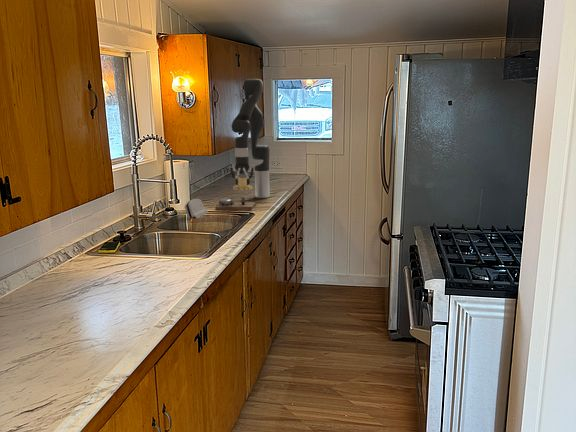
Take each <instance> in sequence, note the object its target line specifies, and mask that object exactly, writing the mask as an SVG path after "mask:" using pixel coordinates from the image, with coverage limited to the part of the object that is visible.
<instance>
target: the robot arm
mask: <svg viewBox="0 0 576 432" xmlns="http://www.w3.org/2000/svg"><path fill="white" fill-rule="evenodd" d="M243 92H244V99H245V101H244V102H243V104H241V107H240V109H239V112H238V114H237V115H236V116H235V118H234V119H233V121H232V122H231V131H232V132H234V133H235V134H236V133H237V134H238V133H239V134H242V135H241V136H237V137H236V138H235V141H234V142H235V143H234V144H235V145H234V146H235V153H234V156H235V157H234V158H235V166H231V167H230V168H229V169H230V174H231V178H233V179H235V185H237V186H238V177H240V174H244V175H245V177H247V185H250V181H251V179H252V178H253V176H254V187H255V188H254V191H255V192H254V193H255V198H259V199H261V198H262V199H263V198H265V199H266V198H270V197H271V196H270V195H271V194H270V192H271V191H270V148H269V145H266V144H258V139H259V137H260V135H261V133H262V131H263V129H264V128H265V122H264V114H263V113H262V111H261V109H260V108H259V107H258V106H257V103H258V101H259V99H260V97H261V96H262V93H263V92H264V82H263V81H262V79H259V78H247V79H244V81H243ZM249 135H250V144H251V146H250V147H251V148H250V149H251V156H252V159H253V160H256V161H258V160H260V161H262V163H260V164H257V165H255V166H254V167H252V166H250V164H249V162H250V161H249V146H248V145H249V140H248V139H249ZM235 170H236V175H235ZM248 171H250V174H249V172H248Z"/></svg>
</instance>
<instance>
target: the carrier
mask: <svg viewBox="0 0 576 432" xmlns="http://www.w3.org/2000/svg"><path fill="white" fill-rule="evenodd" d="M255 207H256V201H245V205H242V201H234V204H233V205H229V206H228V205H227V206H224V205H222V206H221V205H219V203H218V204H217V205H215V206H214V208H215V209H214V210H215V211H253V209H254V208H255Z"/></svg>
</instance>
